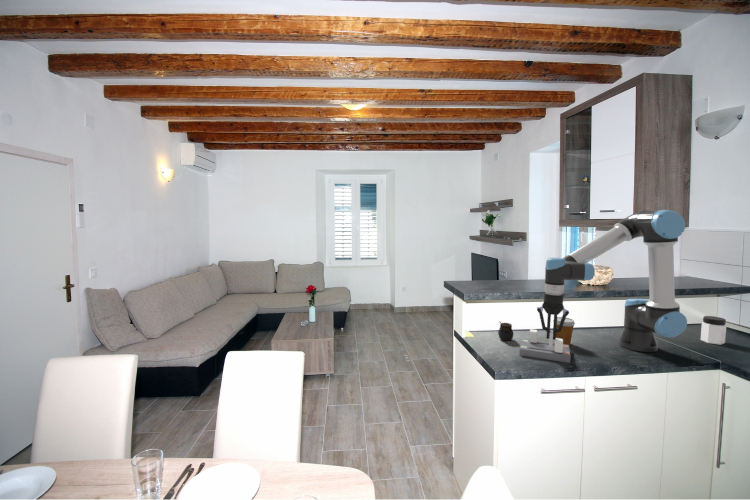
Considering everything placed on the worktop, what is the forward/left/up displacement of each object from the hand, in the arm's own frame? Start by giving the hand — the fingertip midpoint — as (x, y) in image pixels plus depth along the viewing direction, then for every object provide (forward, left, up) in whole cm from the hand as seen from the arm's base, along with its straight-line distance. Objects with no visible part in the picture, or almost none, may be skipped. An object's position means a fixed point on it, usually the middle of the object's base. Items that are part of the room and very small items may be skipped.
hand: (550, 346), depth 160 cm
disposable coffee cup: (-6, -22, -5) cm, 24 cm away
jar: (-73, -56, -5) cm, 92 cm away
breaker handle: (+7, -9, -2) cm, 12 cm away
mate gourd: (+20, -16, -5) cm, 27 cm away
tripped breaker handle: (-3, 0, -2) cm, 4 cm away
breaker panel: (+2, -4, -5) cm, 7 cm away
